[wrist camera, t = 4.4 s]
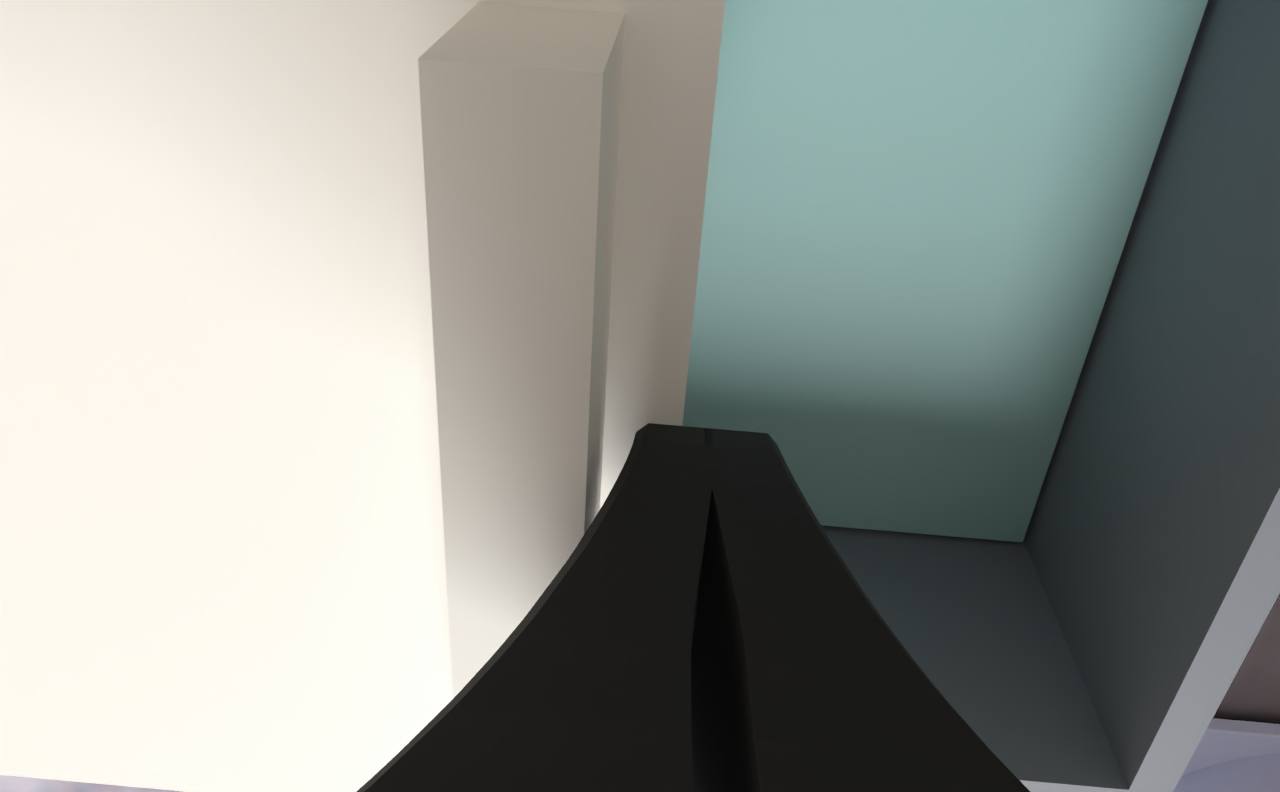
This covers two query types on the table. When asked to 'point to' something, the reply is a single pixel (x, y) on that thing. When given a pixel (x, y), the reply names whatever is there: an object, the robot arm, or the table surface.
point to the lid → (319, 357)
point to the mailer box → (1016, 343)
